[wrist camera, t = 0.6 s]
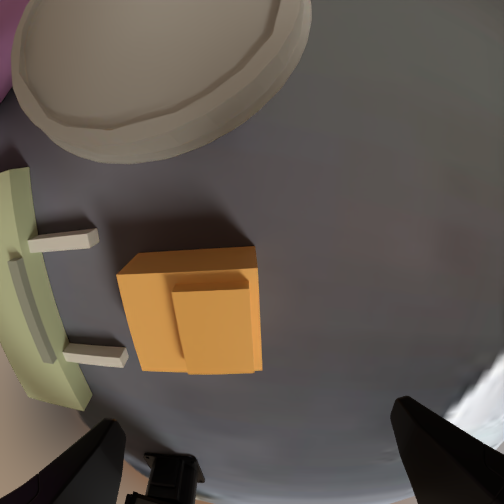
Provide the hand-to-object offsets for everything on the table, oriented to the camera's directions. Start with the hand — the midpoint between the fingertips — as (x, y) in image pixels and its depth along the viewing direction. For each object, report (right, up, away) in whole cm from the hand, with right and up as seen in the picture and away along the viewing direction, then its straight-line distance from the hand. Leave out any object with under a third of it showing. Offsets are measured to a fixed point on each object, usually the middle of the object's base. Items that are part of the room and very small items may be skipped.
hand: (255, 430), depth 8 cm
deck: (-18, +1, +13) cm, 22 cm away
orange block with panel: (-4, +2, +13) cm, 13 cm away
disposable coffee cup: (-3, +16, +9) cm, 18 cm away
